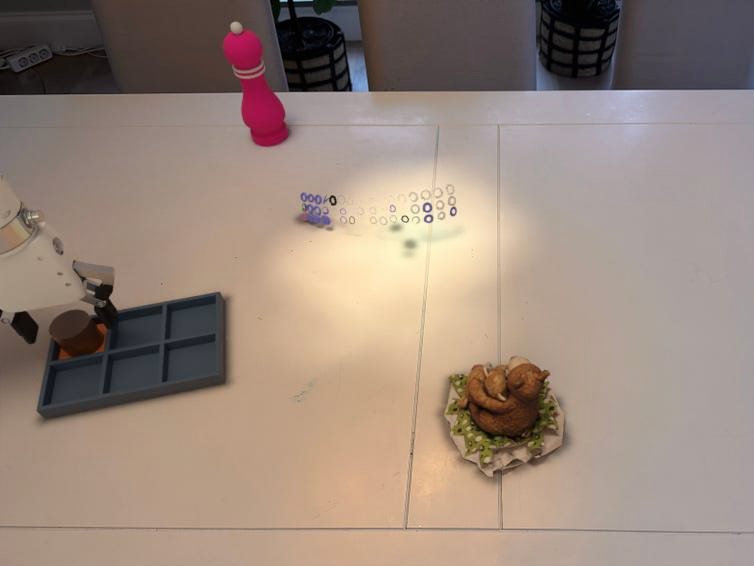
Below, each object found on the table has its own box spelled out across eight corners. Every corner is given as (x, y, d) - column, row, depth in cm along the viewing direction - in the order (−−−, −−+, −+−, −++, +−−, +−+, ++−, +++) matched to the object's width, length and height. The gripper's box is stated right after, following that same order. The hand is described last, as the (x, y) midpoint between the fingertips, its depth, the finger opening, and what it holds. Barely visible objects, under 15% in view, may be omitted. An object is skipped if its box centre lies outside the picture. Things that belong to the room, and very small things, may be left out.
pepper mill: (291, 122, 121) (259, 8, 105) (291, 145, 117) (257, 30, 101) (250, 127, 121) (212, 14, 105) (249, 151, 116) (209, 36, 100)
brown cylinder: (62, 361, 88) (45, 342, 85) (67, 333, 91) (51, 313, 88) (102, 353, 89) (87, 334, 85) (106, 325, 92) (91, 306, 88)
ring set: (288, 257, 103) (265, 183, 96) (328, 227, 112) (310, 157, 105) (435, 265, 94) (421, 183, 87) (467, 231, 102) (455, 155, 96)
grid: (224, 383, 86) (219, 374, 84) (45, 419, 83) (36, 410, 82) (224, 301, 95) (219, 291, 93) (62, 331, 92) (54, 321, 91)
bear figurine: (529, 355, 87) (532, 290, 78) (579, 449, 78) (590, 389, 69) (429, 386, 85) (419, 323, 75) (469, 487, 76) (464, 430, 66)
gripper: (81, 193, 77) (144, 295, 91) (-81, 219, 75) (9, 320, 89) (72, 236, 72) (140, 337, 86) (-101, 265, 70) (-3, 364, 84)
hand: (73, 328), depth 87 cm, fingers open, 9 cm apart
